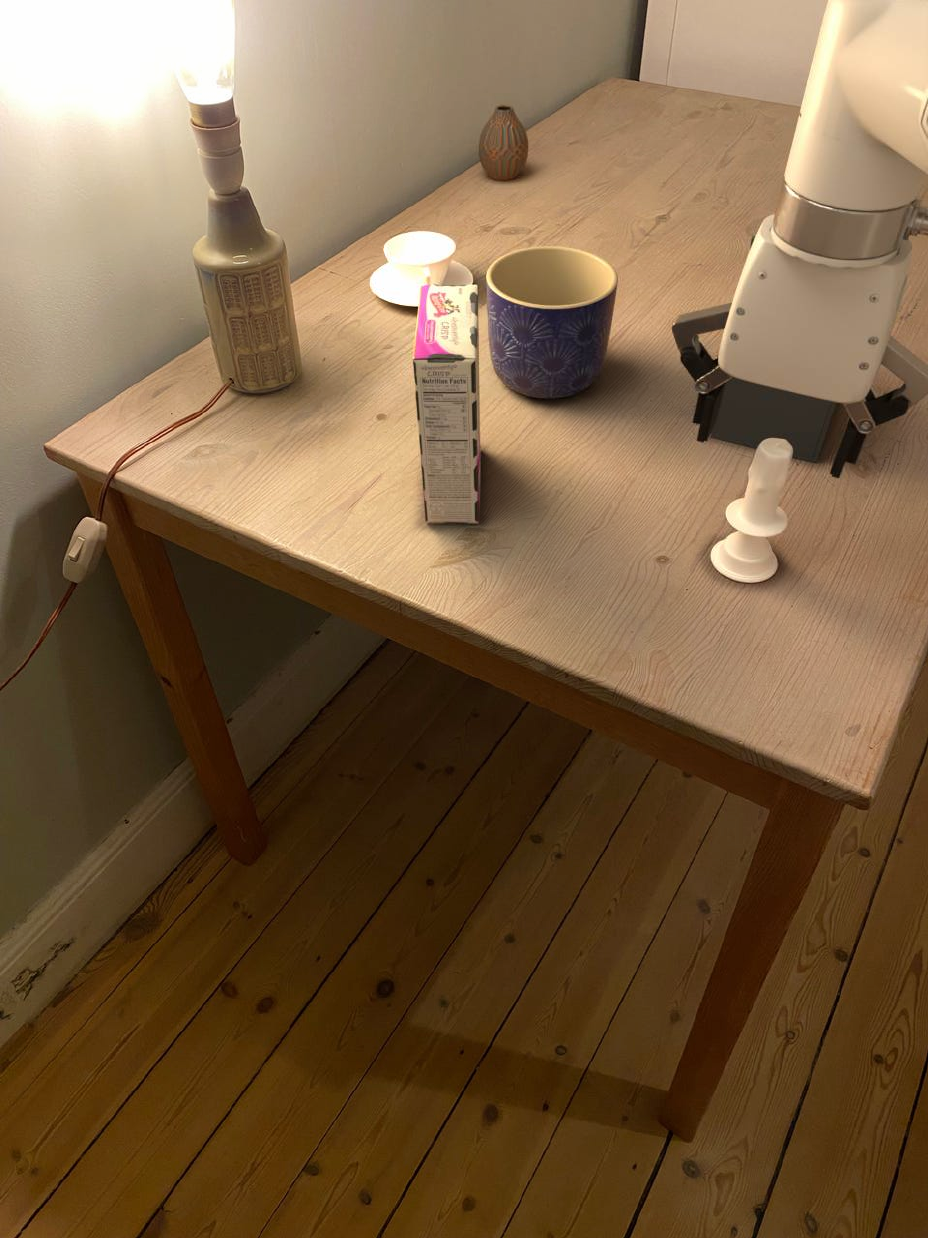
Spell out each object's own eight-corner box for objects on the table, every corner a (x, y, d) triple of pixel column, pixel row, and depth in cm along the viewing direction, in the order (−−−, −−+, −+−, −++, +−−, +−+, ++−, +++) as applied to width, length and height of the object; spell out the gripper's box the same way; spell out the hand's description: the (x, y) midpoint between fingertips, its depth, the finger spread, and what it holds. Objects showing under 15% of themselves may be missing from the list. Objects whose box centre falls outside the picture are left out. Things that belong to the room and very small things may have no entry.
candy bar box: (427, 448, 86) (418, 282, 74) (481, 448, 86) (480, 281, 74) (421, 526, 78) (410, 355, 66) (479, 526, 78) (479, 355, 66)
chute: (816, 463, 83) (885, 253, 69) (710, 437, 86) (755, 231, 72) (838, 398, 90) (905, 196, 76) (739, 376, 93) (786, 177, 79)
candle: (790, 563, 74) (832, 442, 66) (748, 593, 72) (785, 472, 63) (738, 530, 77) (772, 409, 68) (696, 557, 75) (725, 437, 66)
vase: (491, 162, 133) (492, 95, 126) (535, 169, 130) (537, 102, 124) (470, 179, 129) (469, 111, 122) (515, 187, 126) (516, 119, 120)
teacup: (390, 325, 101) (386, 279, 97) (357, 278, 109) (353, 234, 105) (489, 304, 104) (489, 259, 100) (451, 259, 112) (450, 216, 108)
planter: (523, 424, 88) (527, 319, 80) (465, 363, 96) (463, 262, 88) (630, 390, 92) (644, 287, 84) (566, 334, 99) (573, 234, 91)
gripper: (1001, 217, 54) (900, 451, 67) (714, 167, 59) (670, 393, 72) (991, 273, 49) (885, 512, 62) (681, 214, 54) (641, 446, 67)
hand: (770, 448), depth 67 cm, fingers open, 9 cm apart
